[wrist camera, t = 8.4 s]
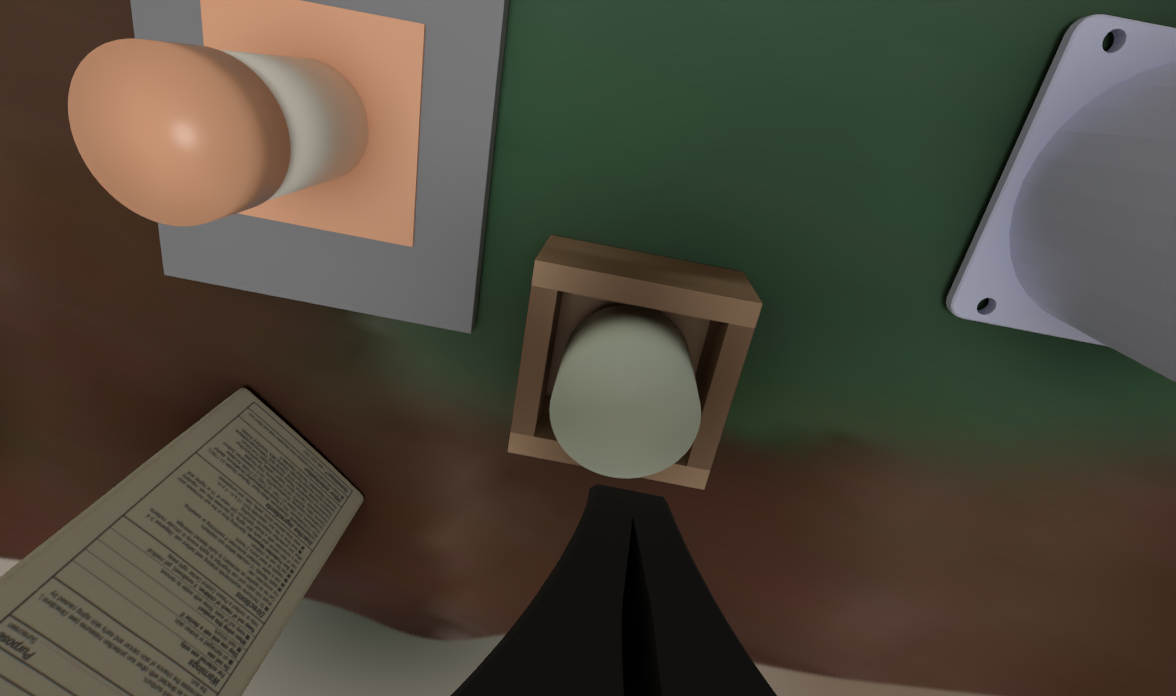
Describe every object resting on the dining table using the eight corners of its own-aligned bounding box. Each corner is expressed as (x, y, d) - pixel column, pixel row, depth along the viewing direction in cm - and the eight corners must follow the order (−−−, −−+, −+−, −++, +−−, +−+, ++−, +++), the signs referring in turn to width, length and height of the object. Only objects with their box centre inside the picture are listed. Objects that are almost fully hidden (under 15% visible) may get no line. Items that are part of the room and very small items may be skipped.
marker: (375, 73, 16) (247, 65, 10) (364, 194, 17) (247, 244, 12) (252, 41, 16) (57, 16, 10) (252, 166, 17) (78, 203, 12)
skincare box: (176, 439, 22) (-294, 790, 11) (248, 380, 21) (-202, 709, 10) (301, 551, 24) (6, 952, 13) (374, 502, 23) (118, 901, 11)
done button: (705, 318, 17) (718, 362, 14) (674, 430, 18) (680, 490, 16) (574, 293, 17) (561, 332, 14) (554, 407, 18) (539, 463, 16)
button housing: (743, 271, 18) (762, 303, 15) (695, 436, 20) (704, 489, 18) (550, 234, 18) (535, 259, 15) (525, 403, 20) (507, 451, 18)
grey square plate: (516, -69, 15) (511, -76, 14) (475, 327, 19) (470, 334, 19) (130, -143, 15) (108, -154, 14) (177, 269, 19) (162, 275, 19)
